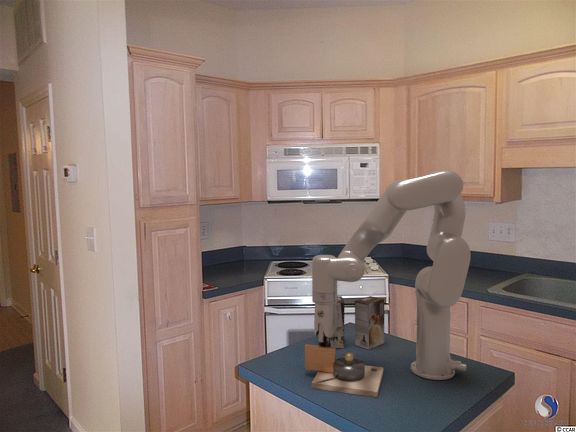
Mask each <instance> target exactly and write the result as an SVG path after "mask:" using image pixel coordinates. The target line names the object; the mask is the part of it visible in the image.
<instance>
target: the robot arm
mask: <svg viewBox="0 0 576 432" xmlns="http://www.w3.org/2000/svg"><path fill="white" fill-rule="evenodd" d="M463 189H464V180H463V179H462V177H461V176H460V174H458V173H457V172H455V171H454V170H451V169H450V170H448V169H445V170H444V169H443V170H435V171H431V172H429V173H428V174H426V175H423V176H419V177H415V178H414V177H413V178H409V179H399V180H397V179H396V180H394V181H393V182H391V183H389V185H388V186H387V187H386V188H385V190H384V191H383V193H382V194H381V196H380V197H379V199H378V200H377V202H376V204H375V205H374V206H373V208H372V209H371V211H370V212H369V213H368V215H367V216H366V218H365V219H364V221H363V222H362V223H361V224H360V225H359V227H358V228H357V230H356V231H355V232H354V233H353V235H352V236H351V237H350V238H349V239H348V241H347V243H346V244H345V246H344V247H343V248H342V250H341V252H340V253H339V254H338V257H336V256H334V255H332V254H318V255H314V256H313V258H312V261H311V274H312V275H311V285H312V287H311V290H312V291H311V292H312V293H311V295H312V296H311V298H312V299H311V301H312V303H314V316H313V317H314V318H313V319H314V320H313V321H314V323H313V324H314V325H313V328H314V329H313V330H314V335H315V336H316V337H318V346H327V347H331V343H329V342H330V341H331V336H332V335H333V334H334V332H335V331H336V329H337V318H336V303H337V296H338V281H341V282H346V283H353V282H354V283H355V282H358V281H360V280H361V279H362V278H363V277H364V275H365V265H364V261H365V260H366V258H367V257H368V256H369V254H370V253H371V251H372V250H373V249H374V248H375V247H376V246H377V245H379V244H380V243H381V242H384V241H385V240H387V239H388V238H389V237H390V236H392V235H391V234H392V233H393V231H394V230H395V228H396V227H397V226H398V225H399V223H400V222H401V220H402V218H403V217H404V216H405V214H406V213H407V211H413V210H418V209H423V208H427V207H431V206H433V209H434V213H433V221H432V225H431V230H430V234H429V237H428V241H427V244H426V254H427V256H428V257H429V259H431V260H432V261H433V263H432V266H426V267H424V268H422V269H421V270H420V271H418V273H417V275H416V278H415V284H414V285H415V287H414V288H415V299H416V340H415V341H416V342H415V343H416V344H415V346H416V347H415V351H416V352H415V353H416V354H415V360H414V361H413V362H411V364H410V371H411V372H412V373H413V374H414V375H416V376H418V377H421V378H424V379H427V380H432V381H445V380H449V379H451V378H453V377H454V376H455V374H456V371H455V370H458V371H464V372H467V363H462V361H461V360H454V359H452V357H451V354H450V351H451V349H450V348H451V307H453V306H454V305H456V304H457V303H458V302H459V300H460V299H461V297H462V294H463V291H464V288H465V285H466V284H465V283H466V280H467V275H468V271H469V268H470V262H471V249H470V248H471V247H470V245H469V243H468V241H466V240H465V239H464V238H462V236H463V235H462V234H463V231H464V226H465V225H464V224H465V220H466V204H465V200H464V198H463V195H462V192H463Z"/></svg>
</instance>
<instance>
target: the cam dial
mask: <svg viewBox="0 0 576 432" xmlns="http://www.w3.org/2000/svg"><path fill="white" fill-rule="evenodd" d="M336 349H337V348H336V347H327V346H319V344H318V345H317V344H307V343H305V345H304V370H308V371H316V372H318V371H323V372H331V373H333V375H334V376H335V377H336V378H338V379H341V380H345V381H356V380H360V379H362V378H363V377H364V376H365V365H366V364H365V362H364V361H362V360H361V359H359V358H354V352H349V351H347V352H345V353H344V357H340V358H337V356H336Z"/></svg>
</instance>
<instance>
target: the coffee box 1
mask: <svg viewBox="0 0 576 432" xmlns="http://www.w3.org/2000/svg"><path fill="white" fill-rule="evenodd" d="M345 304H346V302H345V300H344V299H343V296H342V295H337V303H336V318H337V329H336V331H335V332H334V334H333V335H332V336H331V341H330V342H329V343H331V347H336V349H344V348H345Z"/></svg>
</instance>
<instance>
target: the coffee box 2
mask: <svg viewBox="0 0 576 432" xmlns="http://www.w3.org/2000/svg"><path fill="white" fill-rule="evenodd" d="M383 344H385V298H381V297H376V296H371V295H369V296H366V297H362V298H360V299H356V300H354V345H355V346H357V347H361V348H362V349H366V350H372V349H374V348H376V347H378V346H380V345H383Z"/></svg>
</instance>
